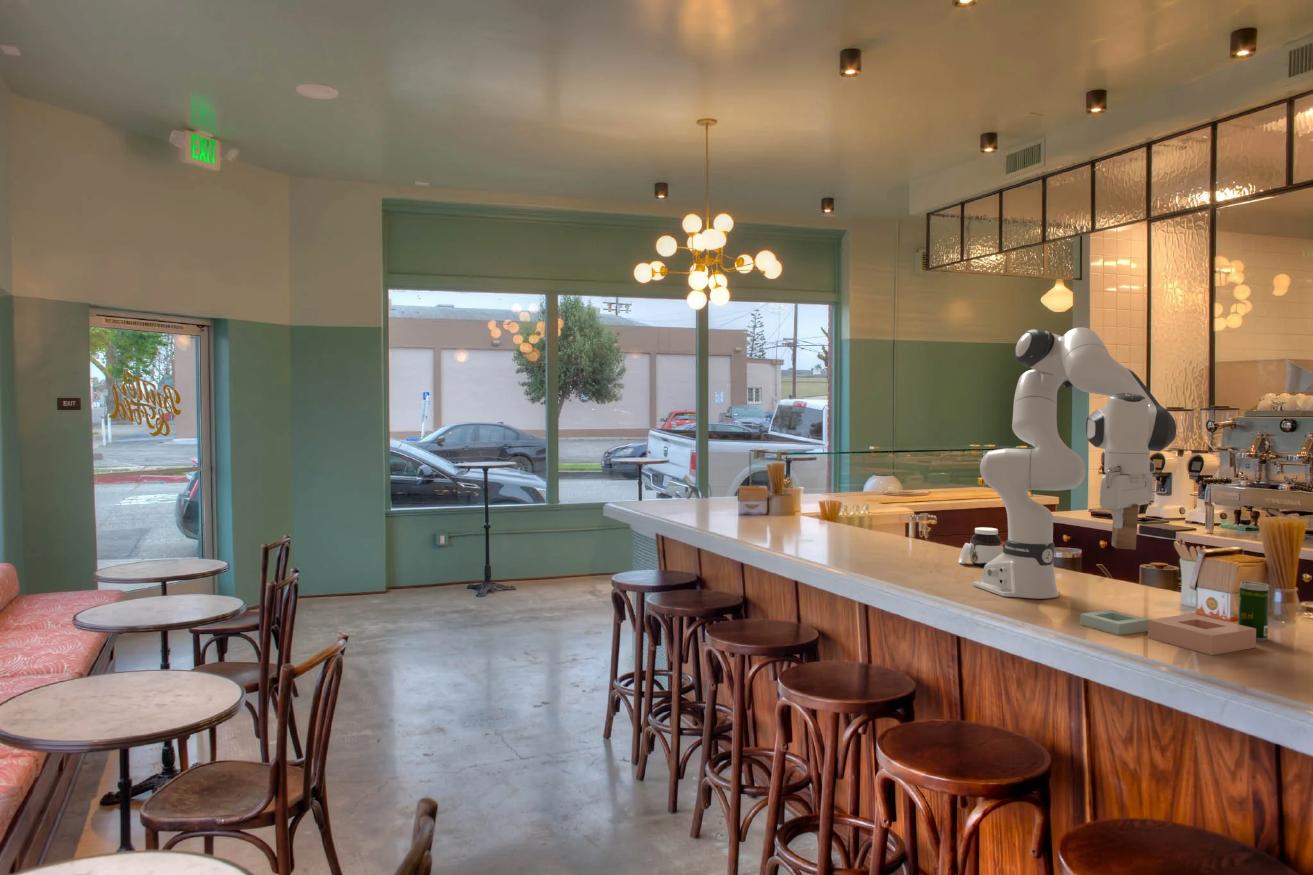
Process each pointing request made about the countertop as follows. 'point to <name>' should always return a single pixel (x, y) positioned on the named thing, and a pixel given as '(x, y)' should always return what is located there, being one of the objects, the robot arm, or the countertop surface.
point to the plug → (1126, 529)
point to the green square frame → (1114, 622)
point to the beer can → (1254, 607)
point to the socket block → (1202, 634)
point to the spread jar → (982, 547)
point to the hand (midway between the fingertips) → (1125, 526)
